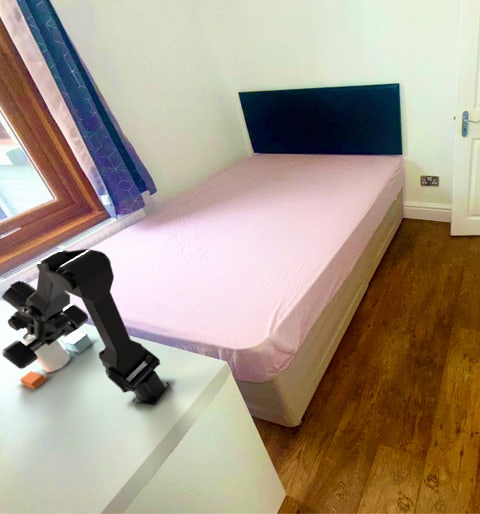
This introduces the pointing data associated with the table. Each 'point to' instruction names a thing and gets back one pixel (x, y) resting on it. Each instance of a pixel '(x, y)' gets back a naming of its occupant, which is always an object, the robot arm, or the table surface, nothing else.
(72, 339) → the box
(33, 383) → the orange rectangular block
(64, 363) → the can
